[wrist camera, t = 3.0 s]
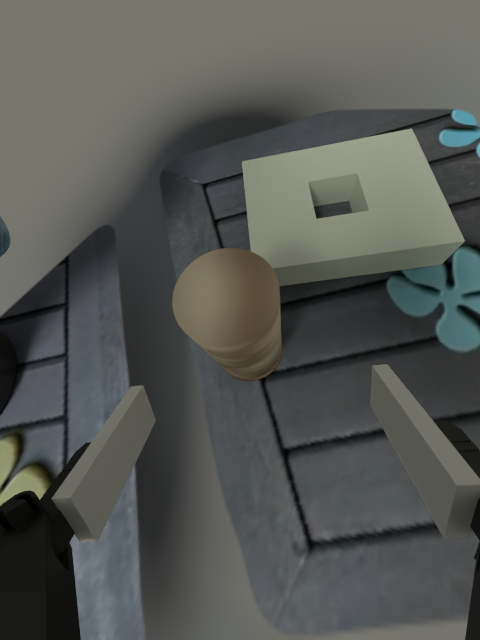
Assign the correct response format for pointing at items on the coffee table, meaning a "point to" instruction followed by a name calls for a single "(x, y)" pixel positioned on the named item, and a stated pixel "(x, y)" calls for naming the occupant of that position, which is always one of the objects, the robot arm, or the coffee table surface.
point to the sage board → (366, 203)
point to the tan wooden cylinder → (232, 311)
